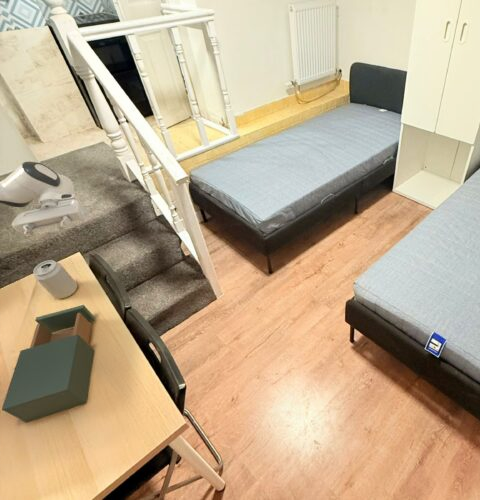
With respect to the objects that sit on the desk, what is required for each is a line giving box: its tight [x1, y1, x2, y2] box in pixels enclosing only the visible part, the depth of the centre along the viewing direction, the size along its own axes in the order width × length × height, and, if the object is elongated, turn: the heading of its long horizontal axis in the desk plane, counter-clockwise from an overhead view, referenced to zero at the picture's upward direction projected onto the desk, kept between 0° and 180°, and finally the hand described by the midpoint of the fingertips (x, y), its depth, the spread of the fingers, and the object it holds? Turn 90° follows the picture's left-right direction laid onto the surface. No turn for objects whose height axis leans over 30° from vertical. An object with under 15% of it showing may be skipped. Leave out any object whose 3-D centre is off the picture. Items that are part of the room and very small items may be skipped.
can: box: [32, 259, 78, 300], centre depth 107 cm, size 8×8×12 cm
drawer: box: [29, 304, 96, 348], centre depth 94 cm, size 16×12×7 cm
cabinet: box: [1, 335, 95, 423], centre depth 85 cm, size 16×14×9 cm
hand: (44, 231), depth 108 cm, fingers open, 8 cm apart
